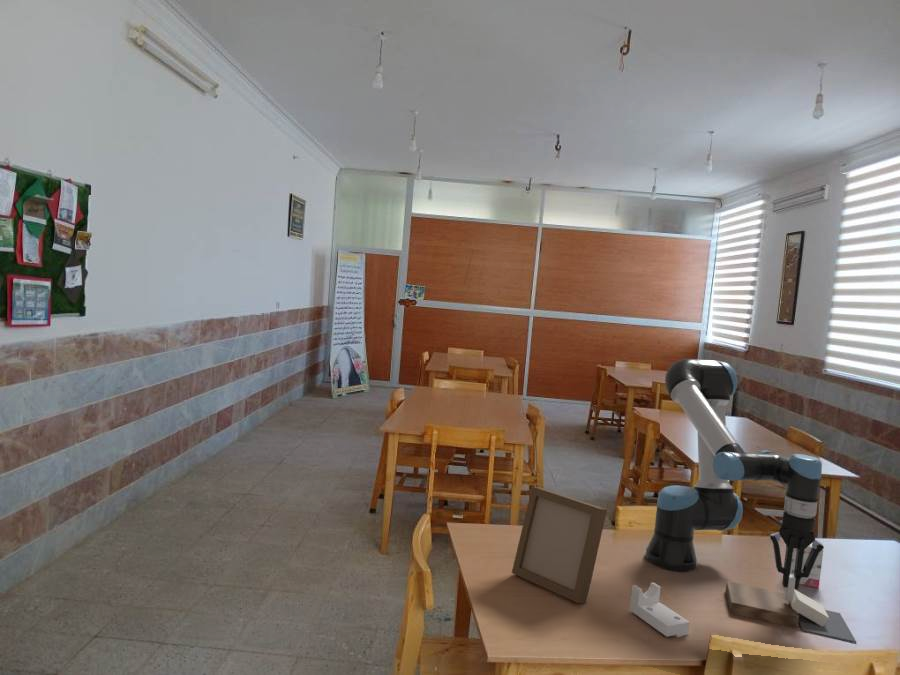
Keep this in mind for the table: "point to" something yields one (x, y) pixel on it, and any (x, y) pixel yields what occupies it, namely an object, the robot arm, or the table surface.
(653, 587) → the bracket
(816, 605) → the cream rectangular block
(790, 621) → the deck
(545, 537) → the photo frame
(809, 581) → the ink box
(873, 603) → the table surface
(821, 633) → the mat
